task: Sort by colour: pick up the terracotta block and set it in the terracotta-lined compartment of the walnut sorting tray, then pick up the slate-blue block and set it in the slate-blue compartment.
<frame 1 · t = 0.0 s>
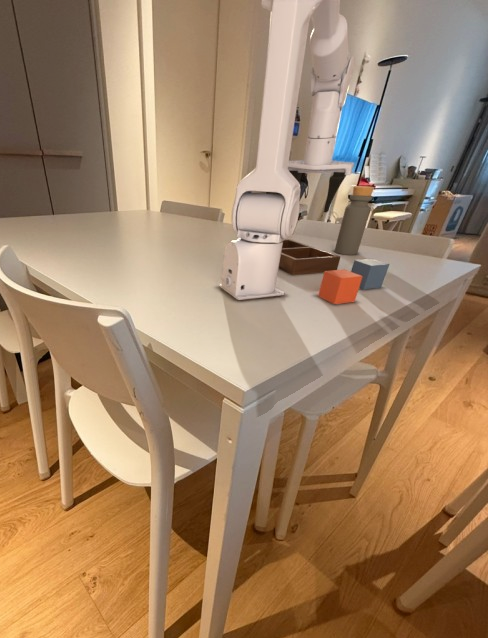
hand: (309, 209, 78), 11 cm above the table, tool pointing down, fingers open, 7 cm apart
sorting tray: (289, 262, 81), on the table
bottle: (345, 253, 90), on the table
terracotta block: (336, 299, 60), on the table
blue block: (364, 285, 66), on the table
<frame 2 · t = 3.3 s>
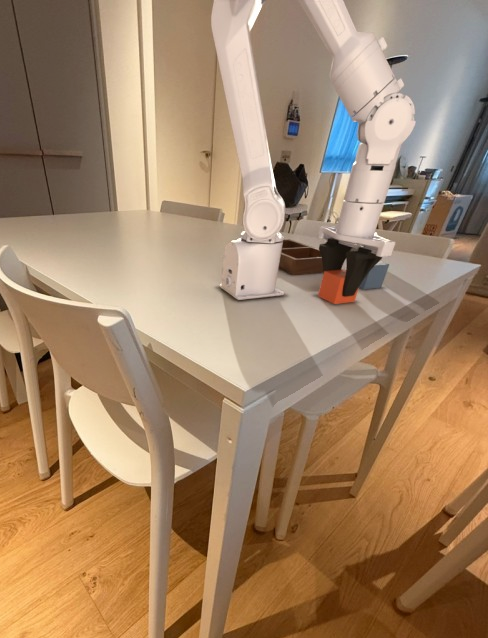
hand: (338, 291, 59), 1 cm above the table, tool pointing down, fingers closed on terracotta block, 4 cm apart
terracotta block: (335, 298, 60), on the table, touching gripper
everything else where it was.
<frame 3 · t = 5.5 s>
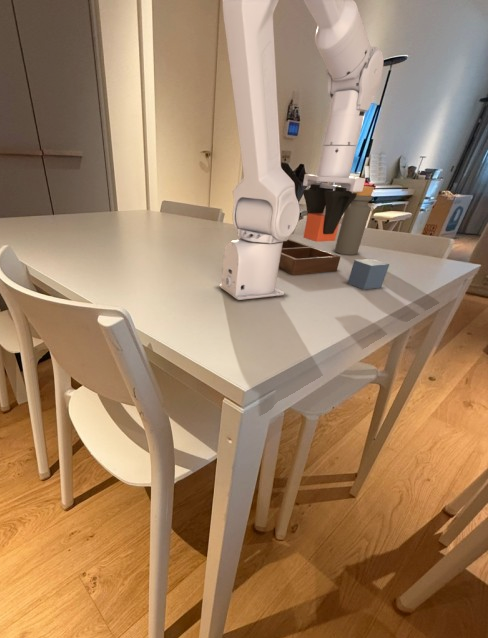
hand: (320, 231, 67), 8 cm above the table, tool pointing down, fingers closed on terracotta block, 4 cm apart
terracotta block: (318, 239, 68), point 7 cm above the table, touching gripper
everything else where it was.
when the fingers open (2 cm above the table, at t = 8.1 s): terracotta block stays where it is, resting on sorting tray.
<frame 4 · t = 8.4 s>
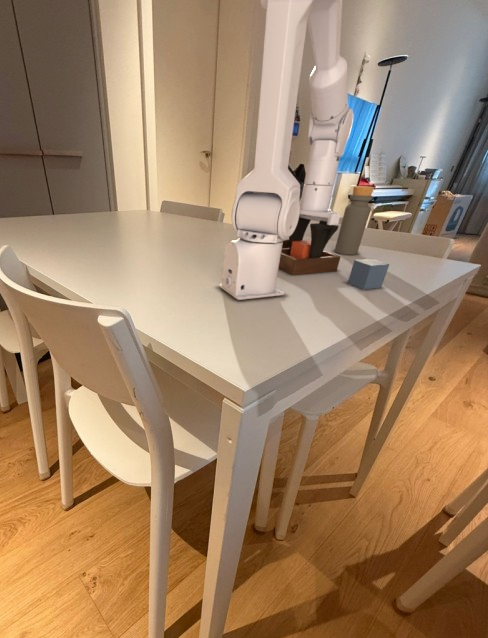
hand: (303, 255, 76), 2 cm above the table, tool pointing down, fingers open, 7 cm apart
terracotta block: (302, 263, 77), point 1 cm above the table, touching sorting tray
everything else where it was.
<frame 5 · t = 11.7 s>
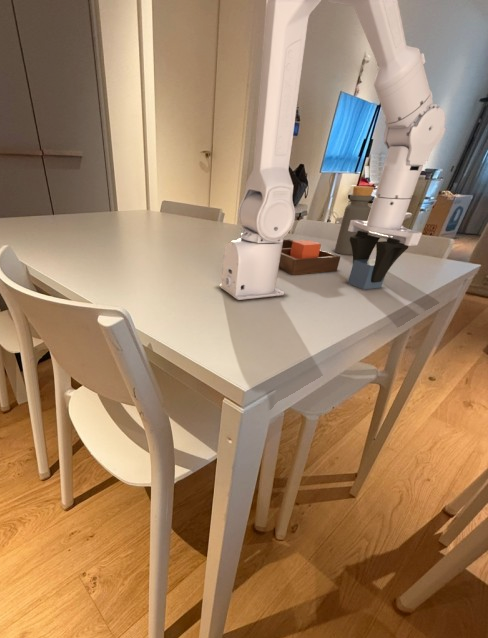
hand: (366, 278, 66), 1 cm above the table, tool pointing down, fingers closed on blue block, 4 cm apart
blue block: (364, 285, 67), on the table, touching gripper
everything else where it was.
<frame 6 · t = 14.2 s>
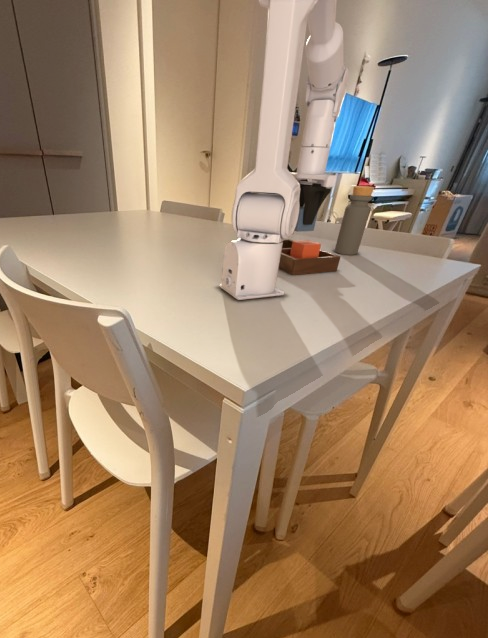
hand: (300, 222, 76), 8 cm above the table, tool pointing down, fingers closed on blue block, 4 cm apart
blue block: (299, 229, 77), point 7 cm above the table, touching gripper
everything else where it was.
when the fingers open (2 cm above the table, at t = 16.7 s): blue block stays where it is, resting on sorting tray.
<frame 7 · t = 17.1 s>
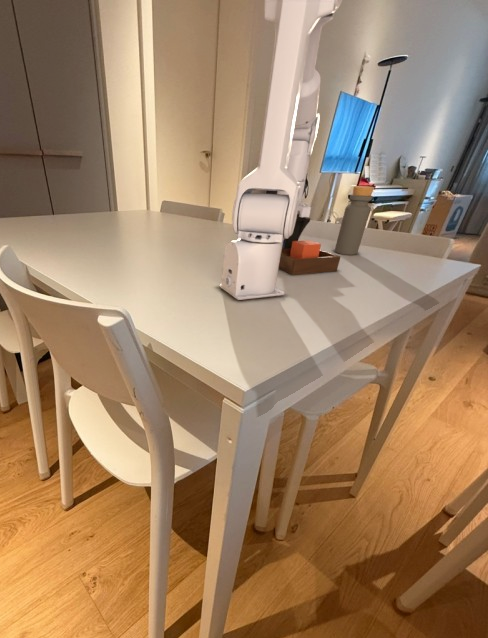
hand: (281, 246, 83), 3 cm above the table, tool pointing down, fingers open, 7 cm apart
blue block: (279, 254, 84), point 1 cm above the table, touching sorting tray
everything else where it was.
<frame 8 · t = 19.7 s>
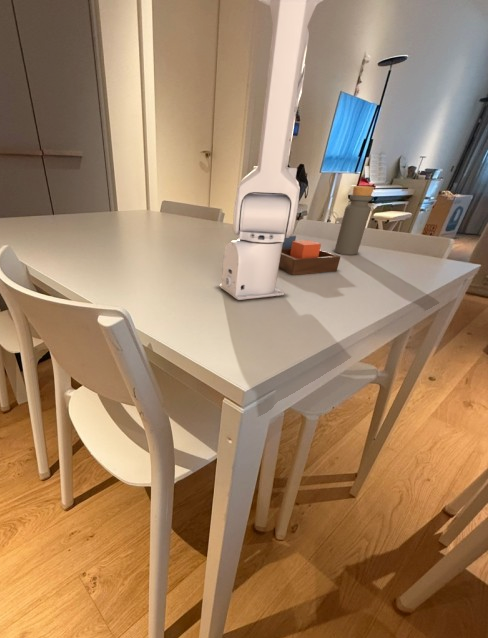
hand: (267, 215, 77), 9 cm above the table, tool pointing down, fingers open, 7 cm apart
nothing on the table moved.
at the end: terracotta block inside the target area on the sorting tray (0.1 cm from its centre), point 0.8 cm above the sorting tray's base; blue block inside the target area on the sorting tray (0.1 cm from its centre), point 0.8 cm above the sorting tray's base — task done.
